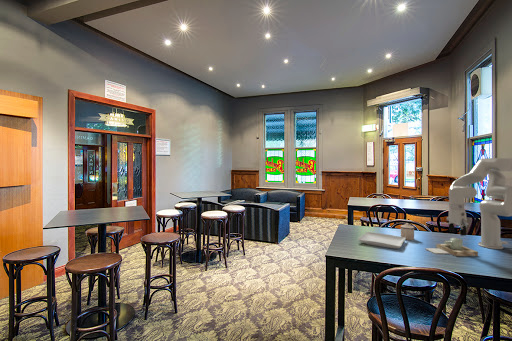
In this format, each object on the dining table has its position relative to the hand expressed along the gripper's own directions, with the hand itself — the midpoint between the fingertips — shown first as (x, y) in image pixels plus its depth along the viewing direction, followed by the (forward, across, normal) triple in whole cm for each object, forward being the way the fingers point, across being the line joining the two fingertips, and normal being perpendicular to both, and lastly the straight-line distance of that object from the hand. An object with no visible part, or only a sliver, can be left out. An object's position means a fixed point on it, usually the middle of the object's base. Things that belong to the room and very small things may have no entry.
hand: (457, 233), depth 162 cm
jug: (+12, 0, +3) cm, 12 cm away
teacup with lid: (+12, +30, +15) cm, 36 cm away
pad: (+11, 0, +13) cm, 17 cm away
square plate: (+11, +18, +39) cm, 45 cm away
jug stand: (+12, 0, +1) cm, 12 cm away
